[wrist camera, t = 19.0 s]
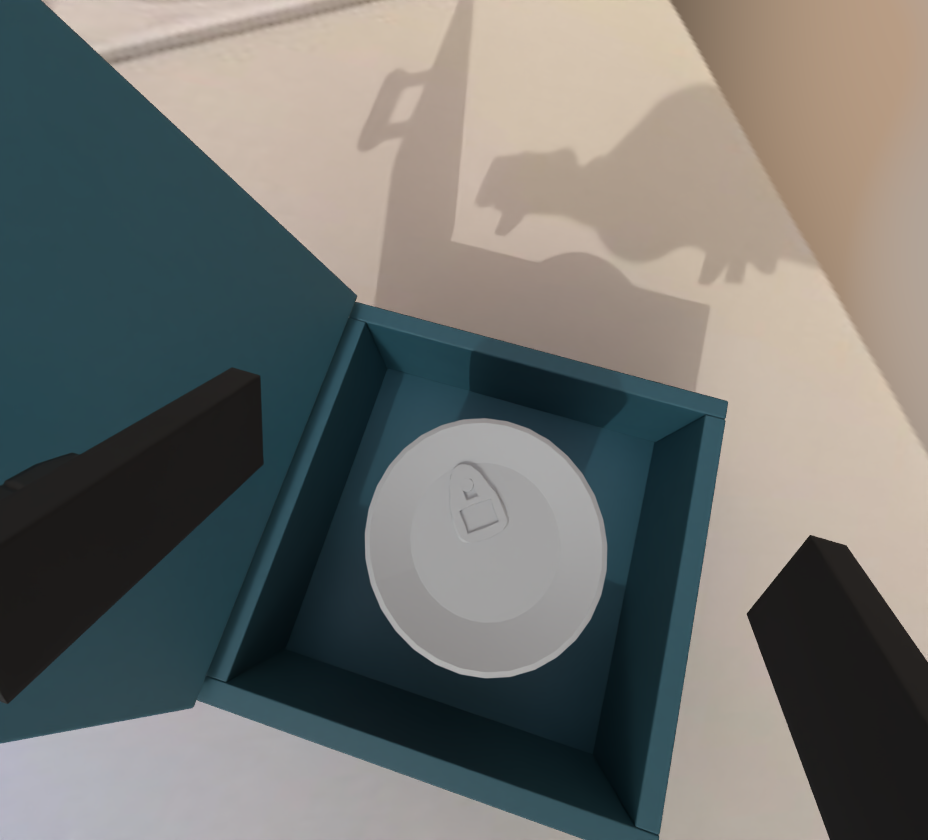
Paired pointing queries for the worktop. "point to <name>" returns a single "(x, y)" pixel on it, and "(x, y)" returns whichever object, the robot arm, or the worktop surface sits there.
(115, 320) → the cooler lid
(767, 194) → the worktop surface
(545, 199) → the worktop surface
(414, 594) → the canned food
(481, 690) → the cool box
